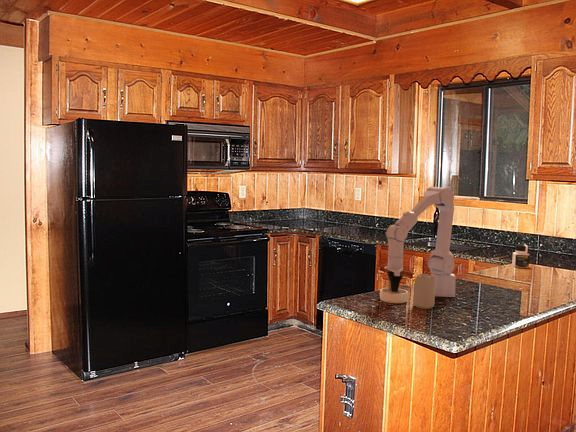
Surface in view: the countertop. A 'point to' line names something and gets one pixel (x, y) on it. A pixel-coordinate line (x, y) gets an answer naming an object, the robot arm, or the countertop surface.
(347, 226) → the countertop surface
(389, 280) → the beige rectangular block
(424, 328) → the countertop surface
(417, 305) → the can
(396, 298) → the beige shallow bowl
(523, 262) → the medicine bottle
